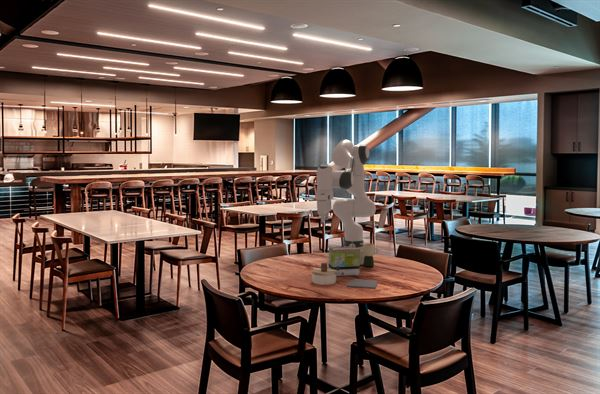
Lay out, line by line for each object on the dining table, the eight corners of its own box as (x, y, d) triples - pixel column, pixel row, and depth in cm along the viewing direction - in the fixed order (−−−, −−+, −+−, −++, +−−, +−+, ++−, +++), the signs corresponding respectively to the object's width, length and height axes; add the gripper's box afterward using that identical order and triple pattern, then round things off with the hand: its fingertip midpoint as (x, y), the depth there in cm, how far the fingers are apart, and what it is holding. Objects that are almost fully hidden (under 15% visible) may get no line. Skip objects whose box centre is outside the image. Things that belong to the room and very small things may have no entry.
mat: (351, 280, 268) (351, 278, 268) (378, 281, 264) (378, 280, 264) (346, 286, 254) (347, 285, 254) (375, 288, 251) (375, 287, 251)
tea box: (334, 276, 275) (334, 249, 274) (328, 272, 285) (328, 246, 283) (360, 275, 279) (360, 248, 278) (353, 271, 289) (353, 245, 287)
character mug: (378, 265, 304) (378, 243, 303) (377, 268, 297) (377, 245, 296) (359, 264, 306) (360, 243, 305) (358, 267, 299) (359, 245, 298)
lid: (314, 269, 272) (314, 260, 271) (338, 270, 269) (338, 261, 268) (309, 274, 259) (309, 265, 259) (334, 276, 256) (334, 266, 256)
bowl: (315, 278, 271) (315, 269, 271) (337, 280, 269) (337, 270, 268) (310, 284, 260) (310, 274, 259) (333, 285, 257) (333, 275, 257)
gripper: (322, 193, 281) (322, 218, 283) (315, 197, 261) (314, 223, 263) (334, 193, 280) (334, 218, 281) (327, 197, 260) (327, 224, 261)
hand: (324, 221), depth 272 cm, fingers open, 8 cm apart
